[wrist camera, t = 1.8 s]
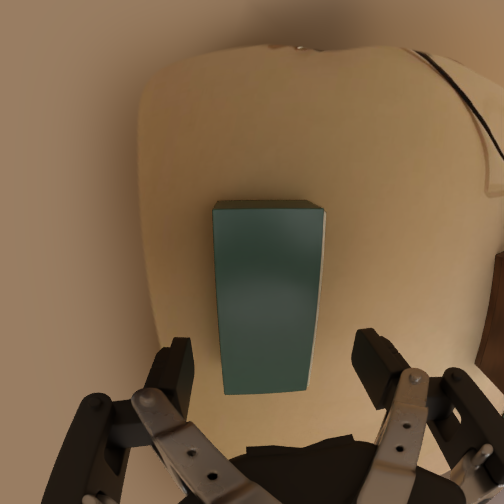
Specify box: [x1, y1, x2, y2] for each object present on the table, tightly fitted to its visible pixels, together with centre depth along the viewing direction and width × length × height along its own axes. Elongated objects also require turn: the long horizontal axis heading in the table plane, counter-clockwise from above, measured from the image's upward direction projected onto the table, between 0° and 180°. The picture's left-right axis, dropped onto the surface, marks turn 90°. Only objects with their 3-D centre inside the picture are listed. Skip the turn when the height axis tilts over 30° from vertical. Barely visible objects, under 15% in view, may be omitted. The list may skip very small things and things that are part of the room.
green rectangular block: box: [212, 200, 326, 395], centre depth 17 cm, size 12×6×4 cm, turn 0°
